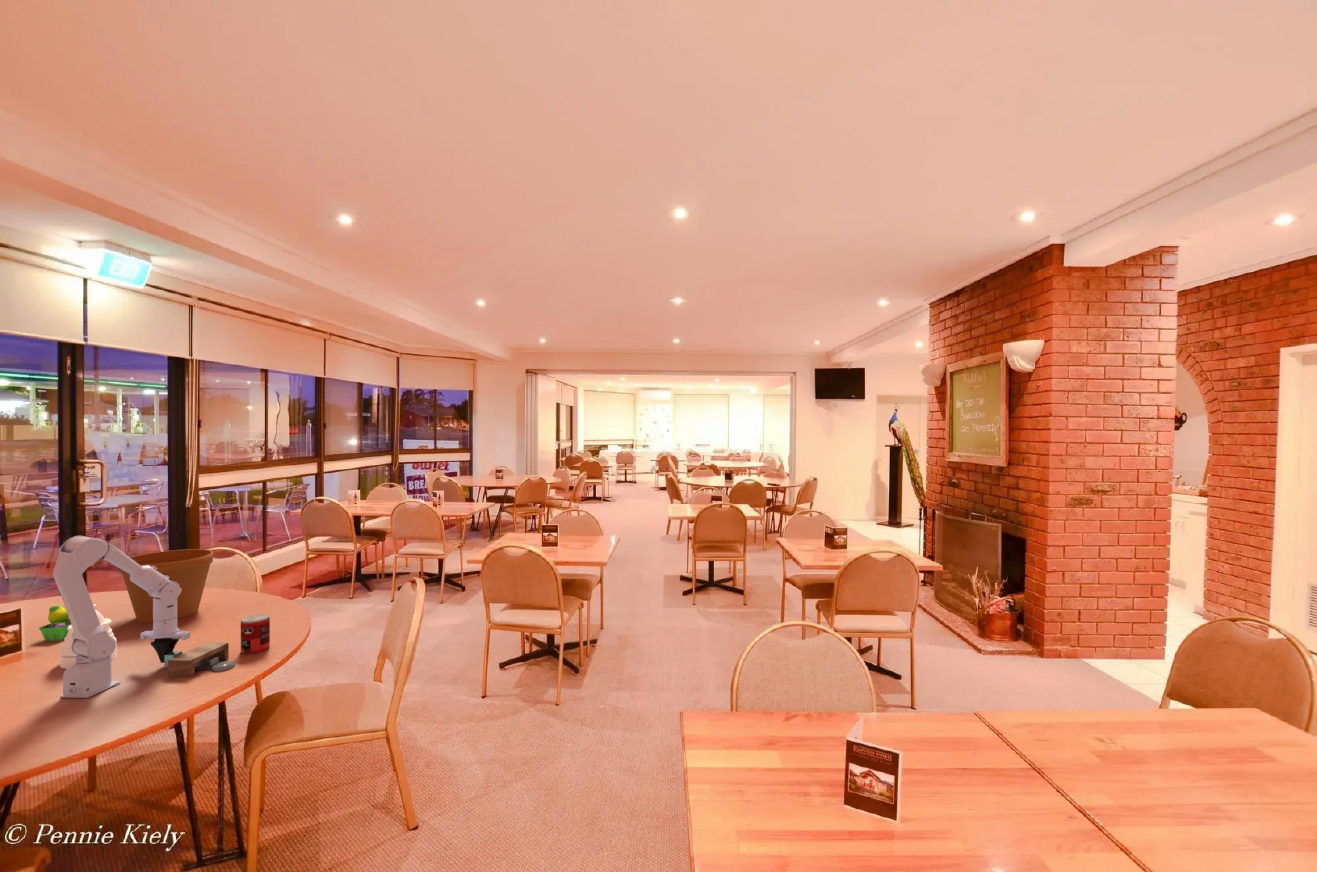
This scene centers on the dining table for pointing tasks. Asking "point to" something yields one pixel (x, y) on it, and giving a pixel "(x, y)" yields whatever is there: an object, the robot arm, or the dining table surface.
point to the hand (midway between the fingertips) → (165, 661)
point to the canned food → (255, 633)
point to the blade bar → (201, 664)
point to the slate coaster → (223, 666)
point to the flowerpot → (180, 568)
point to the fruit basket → (56, 624)
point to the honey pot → (65, 651)
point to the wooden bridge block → (196, 658)
